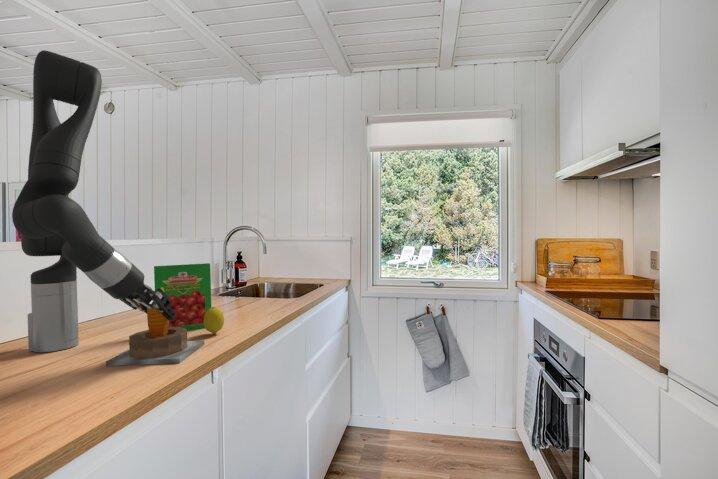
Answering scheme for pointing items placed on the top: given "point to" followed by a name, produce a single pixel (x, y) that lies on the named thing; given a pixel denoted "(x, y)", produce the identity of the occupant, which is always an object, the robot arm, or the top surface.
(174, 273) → the tomato puree packet
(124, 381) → the top surface
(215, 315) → the lemon
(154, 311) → the carrot
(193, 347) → the collar board
